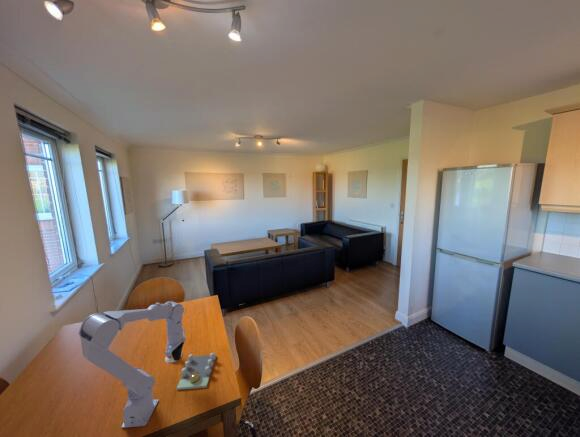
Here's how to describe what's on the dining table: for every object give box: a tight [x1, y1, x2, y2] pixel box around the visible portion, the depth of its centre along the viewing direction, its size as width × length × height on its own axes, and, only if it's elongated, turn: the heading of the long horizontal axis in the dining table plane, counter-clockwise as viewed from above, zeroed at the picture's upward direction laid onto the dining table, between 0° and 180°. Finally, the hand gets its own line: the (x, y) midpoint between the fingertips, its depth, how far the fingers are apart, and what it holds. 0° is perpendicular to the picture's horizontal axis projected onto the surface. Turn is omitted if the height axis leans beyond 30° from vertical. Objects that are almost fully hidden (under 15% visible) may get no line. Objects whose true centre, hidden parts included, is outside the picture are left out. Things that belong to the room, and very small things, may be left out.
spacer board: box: [176, 352, 217, 391], centre depth 99 cm, size 17×12×4 cm
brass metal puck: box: [189, 371, 200, 383], centre depth 94 cm, size 4×4×2 cm
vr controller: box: [164, 352, 183, 364], centre depth 108 cm, size 8×12×7 cm
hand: (177, 359), depth 94 cm, fingers closed
